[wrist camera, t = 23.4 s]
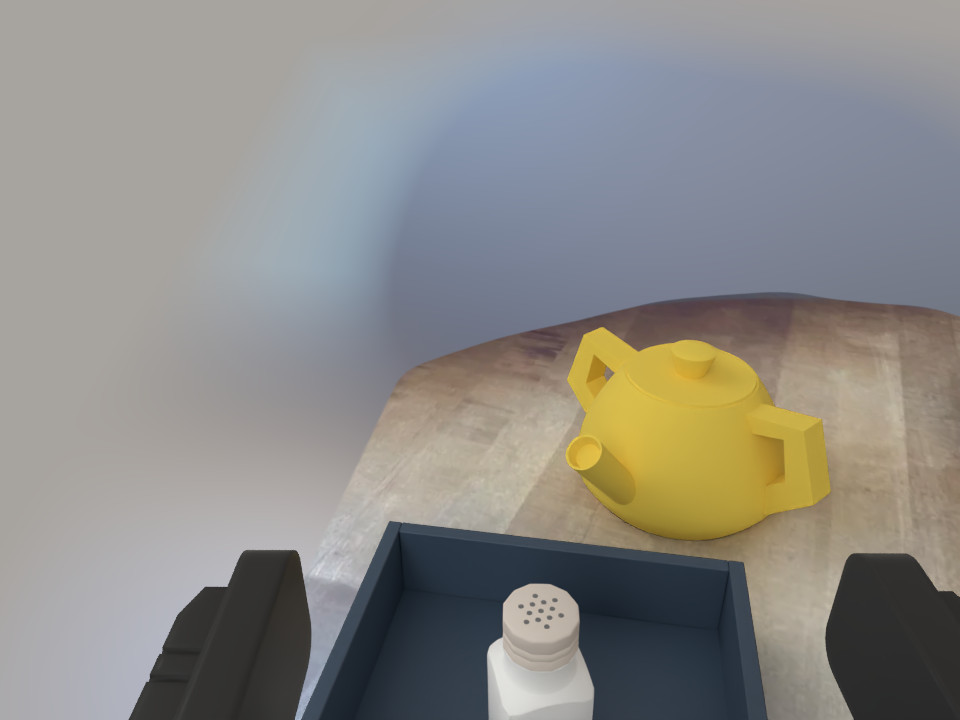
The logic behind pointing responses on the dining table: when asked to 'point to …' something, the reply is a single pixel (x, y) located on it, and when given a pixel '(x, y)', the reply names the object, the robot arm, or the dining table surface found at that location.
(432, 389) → the dining table surface
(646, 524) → the teapot
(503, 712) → the salt shaker
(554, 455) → the dining table surface
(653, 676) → the tray
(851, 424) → the dining table surface
